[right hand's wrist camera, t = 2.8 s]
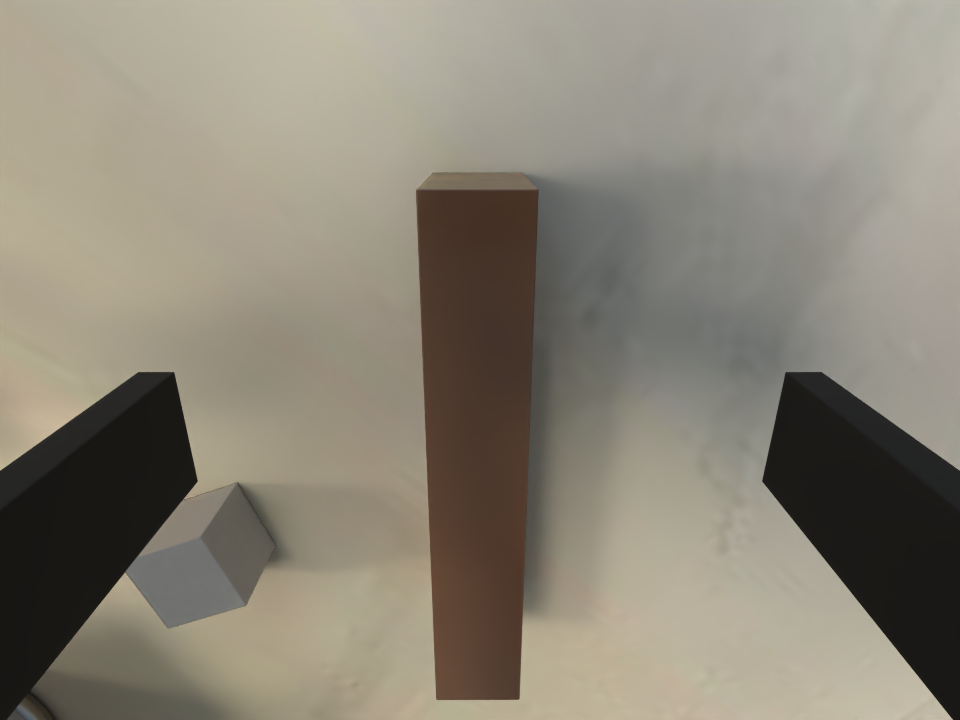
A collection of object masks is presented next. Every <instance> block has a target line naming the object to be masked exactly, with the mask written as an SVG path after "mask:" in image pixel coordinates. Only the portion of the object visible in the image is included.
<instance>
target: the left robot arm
mask: <svg viewBox="0 0 960 720" xmlns="http://www.w3.org/2000/svg"><path fill="white" fill-rule="evenodd" d="M7 720H54V719H53V718H52V716H51V715H50V713H49V712H48V711H47V710H46V709H45V708H44V706H43V705H42V704H41V703H40V702H39V701H37V700H36V699H35V698H34V697H33V696H32V695H30V694H29V693H28V694H27V695H26V697H25V698H24V699H23V700H22V702H21V703H20V704H19V705H18V707H17V708H16V709H15V710H14V712H13V713H12V714H11V715H10V717H9V718H8V719H7Z"/></svg>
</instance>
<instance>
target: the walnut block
mask: <svg viewBox="0 0 960 720" xmlns="http://www.w3.org/2000/svg"><path fill="white" fill-rule="evenodd" d="M416 202H417V227H418V252H419V277H420V302H421V327H422V352H423V378H424V403H425V428H426V453H427V478H428V503H429V528H430V553H431V578H432V603H433V628H434V653H435V678H436V699H437V700H519V698H520V672H521V645H522V618H523V591H524V565H525V538H526V511H527V484H528V457H529V431H530V404H531V377H532V350H533V323H534V296H535V270H536V243H537V216H538V189H537V188H536V187H535V186H534V185H533V184H532V183H531V182H530V181H529V180H528V179H527V177H526V176H525V175H524V174H523V173H432V174H431V175H430V176H429V177H428V178H427V179H426V180H425V181H424V183H423V184H422V185H421V186H420V187H419V188H418V189H417V190H416Z"/></svg>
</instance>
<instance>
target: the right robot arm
mask: <svg viewBox="0 0 960 720" xmlns="http://www.w3.org/2000/svg"><path fill="white" fill-rule="evenodd" d="M197 482H198V480H197V476H196V471H195V466H194V462H193V457H192V452H191V448H190V443H189V439H188V434H187V429H186V425H185V420H184V415H183V411H182V406H181V401H180V397H179V392H178V388H177V383H176V378H175V374H174V372H138V373H137V374H135V375H134V376H133V377H131V378H130V379H128V380H127V381H126V382H124V383H123V384H121V385H120V386H119V387H117V388H116V389H114V390H113V391H111V392H110V393H109V394H107V395H106V396H104V397H103V398H102V399H100V400H99V401H97V402H96V403H95V404H93V405H92V406H90V407H89V408H88V409H86V410H85V411H83V412H82V413H81V414H79V415H78V416H76V417H75V418H74V419H72V420H71V421H69V422H68V423H67V424H65V425H64V426H62V427H61V428H60V429H58V430H57V431H55V432H54V433H53V434H51V435H50V436H48V437H47V438H46V439H44V440H43V441H41V442H40V443H39V444H37V445H36V446H34V447H33V448H32V449H30V450H29V451H27V452H26V453H25V454H23V455H22V456H20V457H19V458H18V459H16V460H15V461H13V462H12V463H11V464H9V465H8V466H6V467H5V468H4V469H2V470H1V471H0V720H7V719H8V718H9V717H10V715H11V714H12V713H13V712H14V710H15V709H16V708H17V707H18V705H19V704H20V703H21V702H22V700H23V699H24V698H25V697H26V695H27V694H28V693H29V692H30V690H31V689H32V688H33V687H34V685H35V684H36V683H37V682H38V680H39V679H40V678H41V677H42V675H43V674H44V673H45V672H46V670H47V669H48V668H49V667H50V665H51V664H52V663H53V662H54V660H55V659H56V658H57V657H58V655H59V654H60V653H61V652H62V650H63V649H64V648H65V647H66V645H67V644H68V643H69V642H70V640H71V639H72V638H73V637H74V635H75V634H76V633H77V632H78V630H79V629H80V628H81V627H82V625H83V624H84V623H85V622H86V620H87V619H88V618H89V617H90V615H91V614H92V613H93V612H94V610H95V609H96V608H97V607H98V605H99V604H100V603H101V602H102V600H103V599H104V598H105V597H106V595H107V594H108V593H109V592H110V590H111V589H112V588H113V587H114V585H115V584H116V583H117V582H118V580H119V579H120V578H121V577H122V575H123V574H124V573H125V572H126V570H127V569H128V568H129V567H130V565H131V564H132V563H133V562H134V560H135V559H136V558H137V557H138V555H139V554H140V553H141V552H142V550H143V549H144V548H145V547H146V545H147V544H148V543H149V542H150V540H151V539H152V538H153V537H154V535H155V534H156V533H157V532H158V530H159V529H160V528H161V527H162V525H163V524H164V523H165V522H166V520H167V519H168V518H169V517H170V515H171V514H172V513H173V512H174V510H175V509H176V508H177V507H178V505H179V504H180V503H181V502H182V500H183V499H184V498H185V497H186V495H187V494H188V493H189V492H190V490H191V489H192V488H193V487H194V485H195V484H196V483H197ZM762 482H763V483H764V484H765V485H766V487H767V488H768V489H769V490H770V492H771V493H772V494H773V495H774V497H775V498H776V499H777V500H778V502H779V503H780V504H781V505H782V507H783V508H784V509H785V510H786V512H787V513H788V514H789V515H790V517H791V518H792V519H793V520H794V522H795V523H796V524H797V525H798V527H799V528H800V529H801V530H802V532H803V533H804V534H805V535H806V537H807V538H808V539H809V540H810V542H811V543H812V544H813V545H814V547H815V548H816V549H817V550H818V552H819V553H820V554H821V555H822V557H823V558H824V559H825V560H826V562H827V563H828V564H829V565H830V567H831V568H832V569H833V570H834V572H835V573H836V574H837V575H838V577H839V578H840V579H841V580H842V582H843V583H844V584H845V585H846V587H847V588H848V589H849V590H850V592H851V593H852V594H853V595H854V597H855V598H856V599H857V600H858V602H859V603H860V604H861V605H862V607H863V608H864V609H865V610H866V612H867V613H868V614H869V615H870V617H871V618H872V619H873V620H874V622H875V623H876V624H877V625H878V627H879V628H880V629H881V630H882V632H883V633H884V634H885V635H886V637H887V638H888V639H889V640H890V642H891V643H892V644H893V645H894V647H895V648H896V649H897V650H898V652H899V653H900V654H901V655H902V657H903V658H904V659H905V660H906V662H907V663H908V664H909V665H910V667H911V668H912V669H913V670H914V672H915V673H916V674H917V675H918V677H919V678H920V679H921V680H922V682H923V683H924V684H925V685H926V687H927V688H928V689H929V690H930V692H931V693H932V694H933V695H934V697H935V698H936V699H937V700H938V702H939V703H940V704H941V705H942V707H943V708H944V709H945V710H946V712H947V713H948V714H949V715H950V717H951V718H952V719H953V720H960V471H959V470H958V469H956V468H955V467H954V466H952V465H951V464H949V463H948V462H947V461H945V460H944V459H942V458H941V457H940V456H938V455H937V454H935V453H934V452H933V451H931V450H930V449H928V448H927V447H926V446H924V445H923V444H921V443H920V442H919V441H917V440H916V439H914V438H913V437H912V436H910V435H909V434H907V433H906V432H905V431H903V430H902V429H900V428H899V427H898V426H896V425H895V424H893V423H892V422H891V421H889V420H888V419H886V418H885V417H884V416H882V415H881V414H879V413H878V412H877V411H875V410H874V409H872V408H871V407H870V406H868V405H867V404H865V403H864V402H863V401H861V400H860V399H858V398H857V397H856V396H854V395H853V394H851V393H850V392H849V391H847V390H846V389H844V388H843V387H841V386H840V385H839V384H837V383H836V382H834V381H833V380H832V379H830V378H829V377H827V376H826V375H825V374H823V373H822V372H786V374H785V378H784V383H783V388H782V392H781V397H780V401H779V406H778V411H777V415H776V420H775V425H774V429H773V434H772V439H771V443H770V448H769V452H768V457H767V462H766V466H765V471H764V476H763V480H762Z"/></svg>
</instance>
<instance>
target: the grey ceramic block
mask: <svg viewBox="0 0 960 720" xmlns="http://www.w3.org/2000/svg"><path fill="white" fill-rule="evenodd" d="M274 547H275V543H274V542H273V540H272V539H271V537H270V535H269V534H268V532H267V531H266V529H265V527H264V526H263V524H262V522H261V521H260V519H259V518H258V516H257V514H256V513H255V511H254V510H253V508H252V506H251V505H250V503H249V501H248V500H247V498H246V497H245V495H244V493H243V492H242V490H241V488H240V487H239V485H238V484H237V483H235V484H232V485H229V486H226V487H223V488H220V489H217V490H214V491H211V492H208V493H205V494H201V495H198V496H195V497H192V498H189V499H186V500H183V501H182V502H181V503H180V504H179V505H178V507H177V508H176V509H175V510H174V512H173V513H172V514H171V515H170V517H169V518H168V519H167V520H166V522H165V523H164V524H163V525H162V527H161V528H160V529H159V530H158V532H157V533H156V534H155V535H154V537H153V538H152V539H151V540H150V542H149V543H148V544H147V545H146V547H145V548H144V549H143V550H142V552H141V553H140V554H139V555H138V557H137V558H136V559H135V560H134V562H133V563H132V564H131V565H130V567H129V568H128V569H127V570H126V572H125V573H126V574H127V575H128V577H129V578H130V579H131V580H132V582H133V583H134V584H135V586H136V587H137V588H138V590H139V591H140V592H141V594H142V595H143V596H144V598H145V599H146V600H147V602H148V603H149V604H150V606H151V607H152V608H153V610H154V611H155V612H156V613H157V615H158V616H159V617H160V619H161V620H162V621H163V623H164V624H165V625H166V627H167V628H168V629H169V628H172V627H176V626H179V625H182V624H186V623H189V622H193V621H196V620H199V619H203V618H206V617H209V616H213V615H216V614H220V613H223V612H226V611H230V610H233V609H236V608H240V607H243V606H246V605H247V603H248V601H249V599H250V597H251V595H252V593H253V591H254V588H255V586H256V584H257V582H258V580H259V578H260V576H261V574H262V572H263V570H264V568H265V566H266V564H267V562H268V560H269V558H270V555H271V553H272V551H273V549H274Z"/></svg>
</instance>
